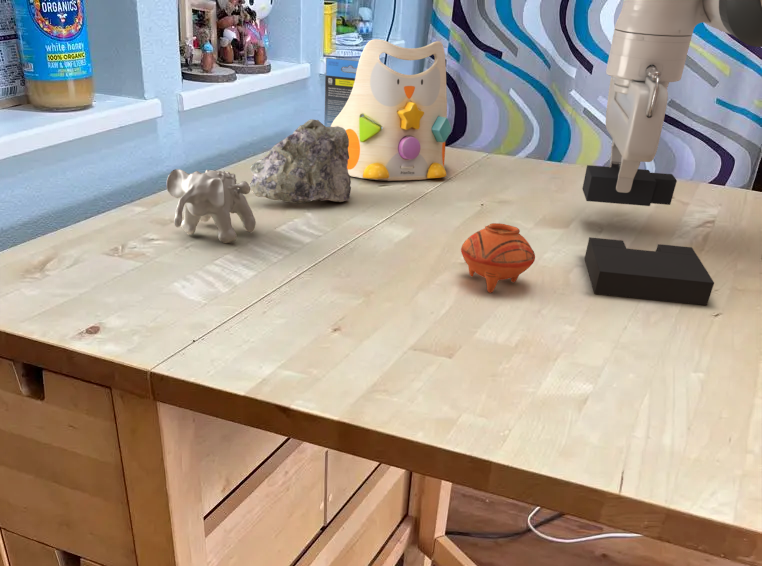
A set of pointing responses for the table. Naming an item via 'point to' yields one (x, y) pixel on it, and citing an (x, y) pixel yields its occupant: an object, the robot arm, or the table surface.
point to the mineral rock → (305, 166)
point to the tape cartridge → (337, 87)
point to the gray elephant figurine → (210, 201)
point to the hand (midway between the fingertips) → (618, 183)
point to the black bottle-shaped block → (642, 191)
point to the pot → (497, 254)
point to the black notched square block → (647, 272)
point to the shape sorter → (397, 116)
